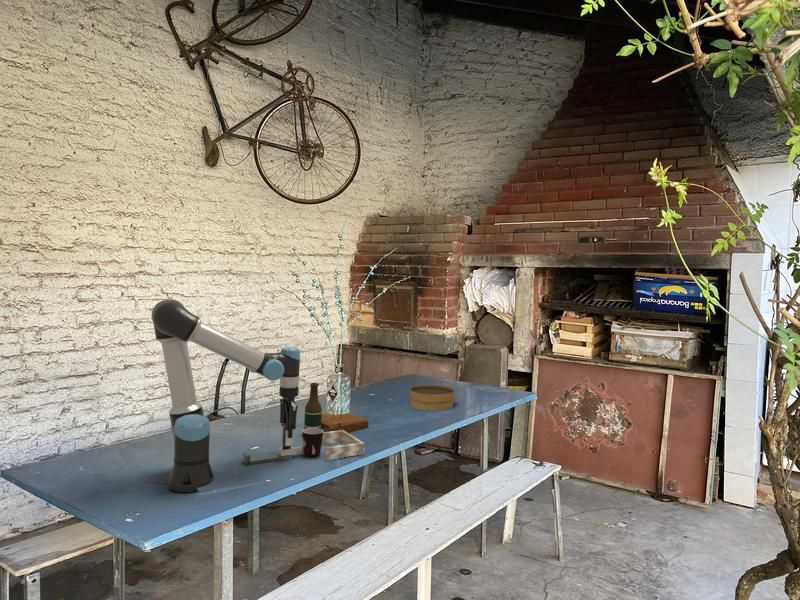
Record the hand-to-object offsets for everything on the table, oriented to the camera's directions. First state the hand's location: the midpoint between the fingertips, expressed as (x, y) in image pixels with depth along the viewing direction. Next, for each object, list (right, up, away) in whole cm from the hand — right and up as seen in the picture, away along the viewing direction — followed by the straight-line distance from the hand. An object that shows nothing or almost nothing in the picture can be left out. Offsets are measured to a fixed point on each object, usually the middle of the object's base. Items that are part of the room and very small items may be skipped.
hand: (286, 443), depth 228 cm
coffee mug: (+9, -6, +6) cm, 12 cm away
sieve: (+63, -4, +90) cm, 110 cm away
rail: (-7, -6, -4) cm, 10 cm away
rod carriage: (+3, -4, +2) cm, 5 cm away
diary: (+15, -5, +44) cm, 46 cm away
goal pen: (+18, -6, +11) cm, 22 cm away
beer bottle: (+5, -4, +31) cm, 32 cm away
